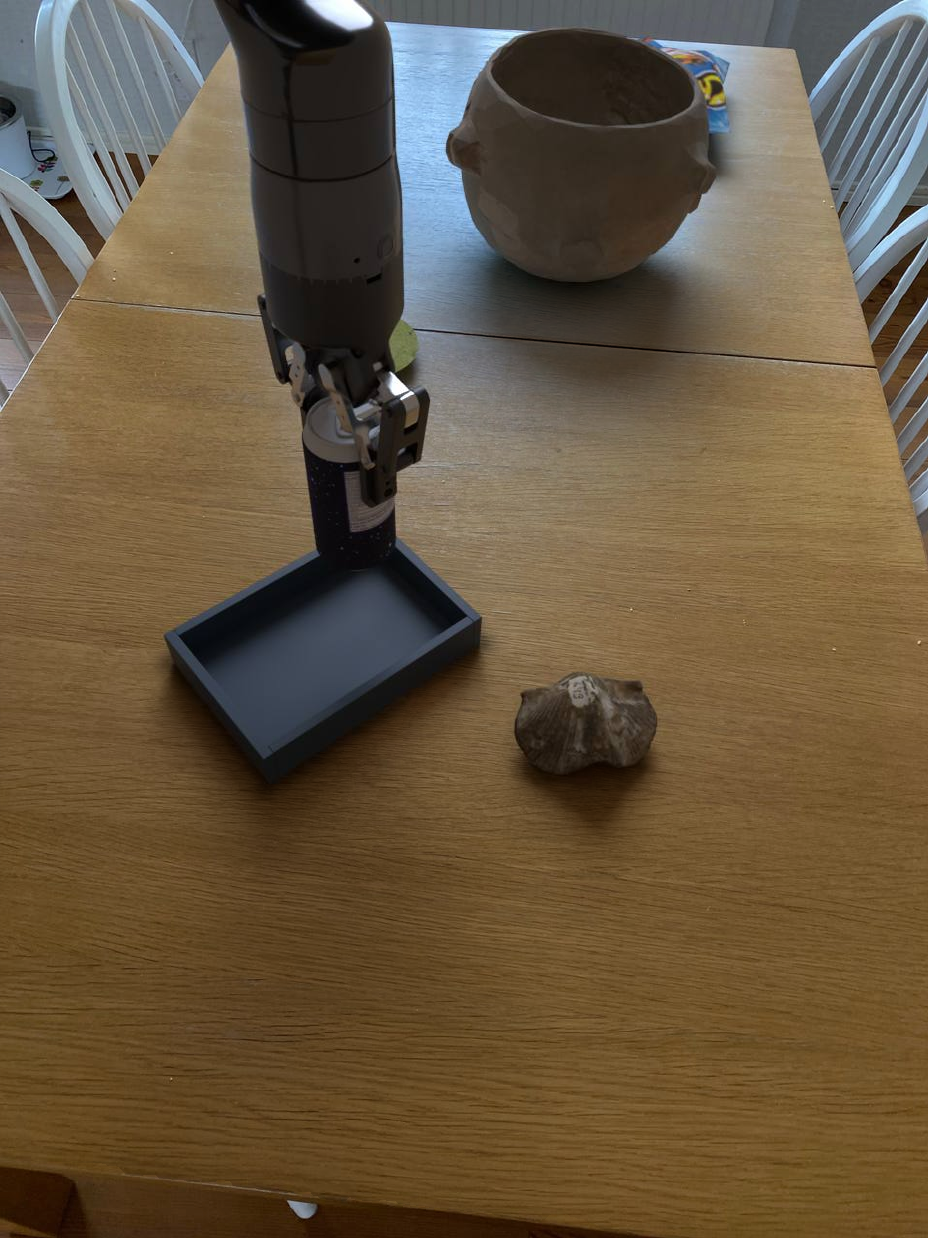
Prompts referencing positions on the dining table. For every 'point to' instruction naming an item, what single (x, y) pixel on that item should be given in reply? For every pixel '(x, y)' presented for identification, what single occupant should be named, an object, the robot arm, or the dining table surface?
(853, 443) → the dining table surface
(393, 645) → the dark blue tray
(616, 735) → the fossilized seashell
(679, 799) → the dining table surface
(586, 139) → the bowl
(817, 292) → the dining table surface
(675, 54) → the packet
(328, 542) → the beverage can
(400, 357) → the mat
